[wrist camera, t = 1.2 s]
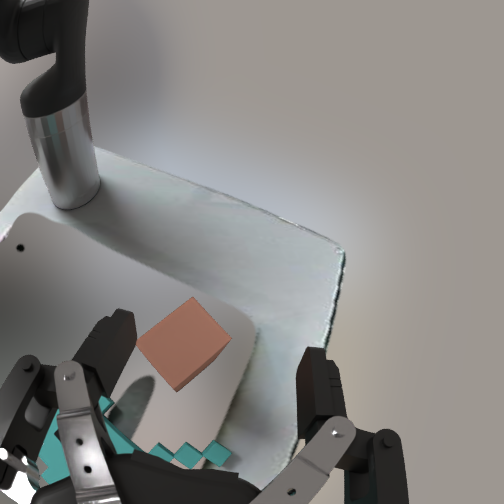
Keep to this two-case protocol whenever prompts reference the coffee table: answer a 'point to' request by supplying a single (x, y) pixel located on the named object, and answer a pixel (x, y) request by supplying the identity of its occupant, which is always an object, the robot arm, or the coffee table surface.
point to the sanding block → (183, 344)
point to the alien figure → (122, 449)
